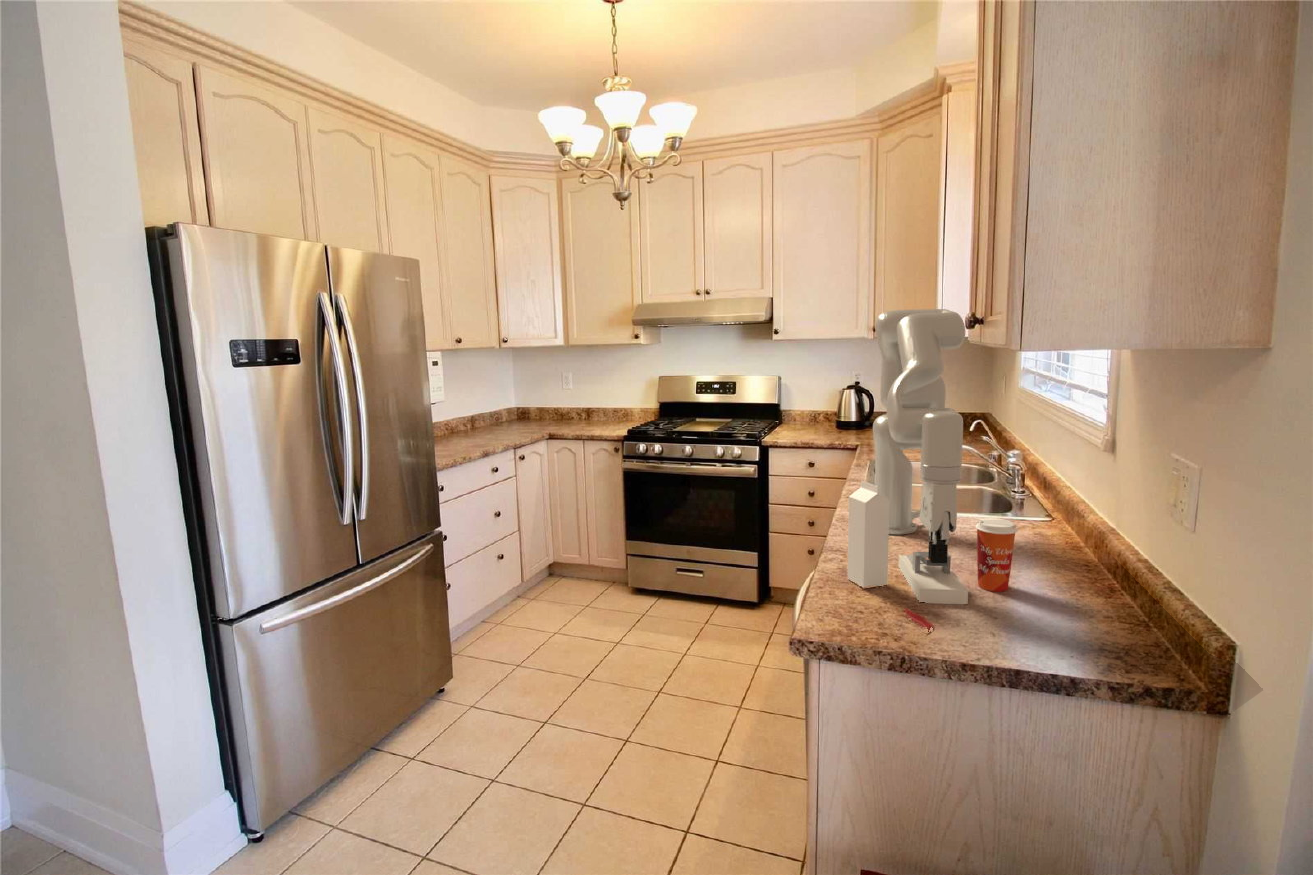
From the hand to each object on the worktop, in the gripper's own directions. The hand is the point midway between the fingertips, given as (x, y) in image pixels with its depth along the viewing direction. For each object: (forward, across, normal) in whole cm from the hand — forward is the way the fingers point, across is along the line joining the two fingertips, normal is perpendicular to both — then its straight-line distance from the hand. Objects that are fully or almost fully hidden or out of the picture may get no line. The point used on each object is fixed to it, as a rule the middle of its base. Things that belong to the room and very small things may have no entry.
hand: (937, 561), depth 134 cm
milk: (+7, -5, -13) cm, 15 cm away
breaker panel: (+7, -5, 0) cm, 8 cm away
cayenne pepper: (+8, +14, -7) cm, 17 cm away
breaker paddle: (+1, -5, 0) cm, 5 cm away
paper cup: (+7, -5, +12) cm, 15 cm away
